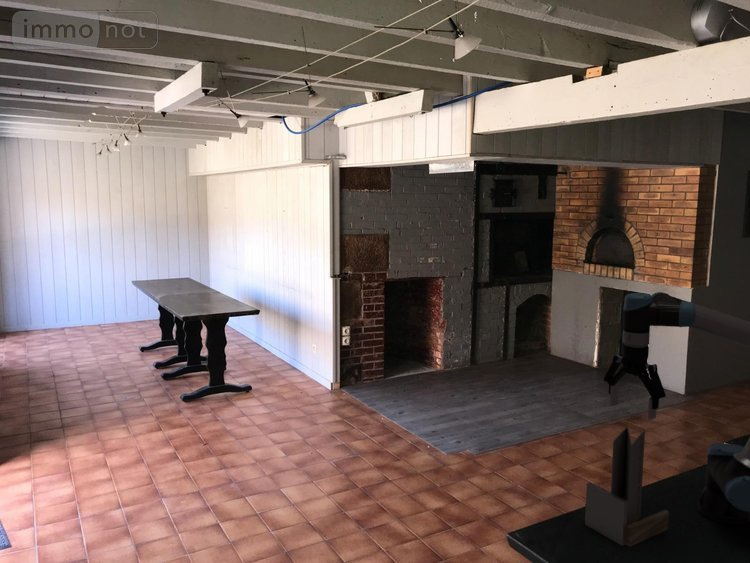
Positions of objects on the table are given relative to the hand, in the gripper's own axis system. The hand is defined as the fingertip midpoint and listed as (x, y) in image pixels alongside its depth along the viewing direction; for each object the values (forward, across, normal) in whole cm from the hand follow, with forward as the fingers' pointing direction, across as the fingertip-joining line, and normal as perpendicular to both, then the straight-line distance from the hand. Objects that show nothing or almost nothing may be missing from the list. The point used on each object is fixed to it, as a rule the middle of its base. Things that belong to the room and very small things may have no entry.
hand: (632, 411), depth 191 cm
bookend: (+38, 0, -10) cm, 39 cm away
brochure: (+38, 0, 0) cm, 38 cm away
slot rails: (+38, 0, 0) cm, 38 cm away
